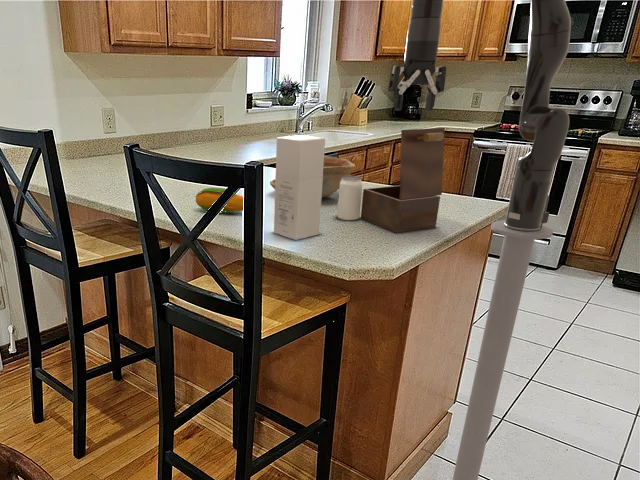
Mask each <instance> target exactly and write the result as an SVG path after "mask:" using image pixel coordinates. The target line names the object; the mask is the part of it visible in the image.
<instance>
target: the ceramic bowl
mask: <svg viewBox="0 0 640 480" xmlns="http://www.w3.org/2000/svg"><path fill="white" fill-rule="evenodd" d="M355 167H356V164H355V163H352V162H351V161H349V160H348V159H347V158H339V157H335V156H328V155H324V165H323V183H322V198H326V197H329V196H331V195H332V194H334V193H336V192H337V191H338V190H339V188H340V182H341V180H342V177H343V176H351V173H352V171H353V170H354V168H355ZM269 185H270V186H271V187H272V188H273V190H275V179H272V180H271V181H269ZM322 198H321V199H322Z"/></svg>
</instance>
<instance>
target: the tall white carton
mask: <svg viewBox="0 0 640 480" xmlns="http://www.w3.org/2000/svg"><path fill="white" fill-rule="evenodd" d="M325 148H326V138H325V137H319V136H313V135H312V136H311V135H304V134H297V135H288V136H278V137H276V149H275V153H276V154H275V179H274V180H275V189H274V214H273V215H274V219H273V233H275V234H277V235H281V236H283V237H286V238H288V239H292V240H294V241H298V240H302V239H306V238H310V237H313V236H318V235H319V234H320V230H321V229H320V228H321V214H322V213H321V212H322V183H323V165H324V156H325Z"/></svg>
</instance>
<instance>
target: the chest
mask: <svg viewBox="0 0 640 480" xmlns="http://www.w3.org/2000/svg"><path fill="white" fill-rule="evenodd" d="M440 199H441V195H437V196H428V197H419V198H410V199H400V184H398V185H387V186H379V187H368V188H362V198H361V208H360V219H361V220H364V221H366V222H368V223H371V224H373V225H376V226H378V227H380V228H383V229H385V230H388V231H391V232H393V233H395V234H401V233H406V232H415V231H420V230H429V229H434V228H437V227H436V226H437V220H438V216H439V209H440V201H441V200H440Z"/></svg>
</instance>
